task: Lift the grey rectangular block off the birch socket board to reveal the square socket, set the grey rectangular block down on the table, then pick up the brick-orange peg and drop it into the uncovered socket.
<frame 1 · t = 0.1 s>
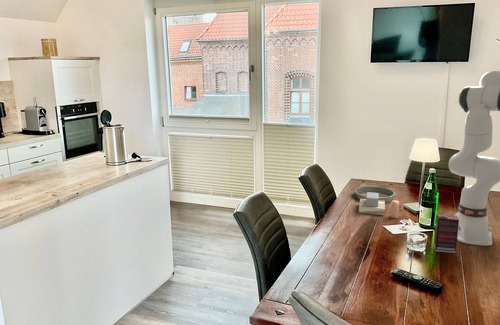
grey rectangular block: (372, 203, 226), point 4 cm above the table, touching socket board
socket board: (371, 210, 227), on the table
cake pan: (374, 198, 249), on the table
supplement box: (443, 250, 176), on the table
peg: (394, 216, 216), on the table
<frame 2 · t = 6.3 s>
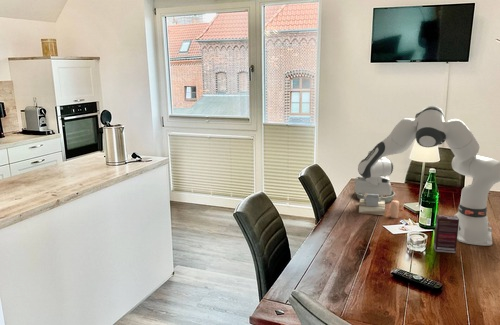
hand: (372, 200, 226), 6 cm above the table, tool pointing down, fingers closed on grey rectangular block, 6 cm apart
grey rectangular block: (372, 203, 227), point 4 cm above the table, touching gripper, socket board
everything else where it was.
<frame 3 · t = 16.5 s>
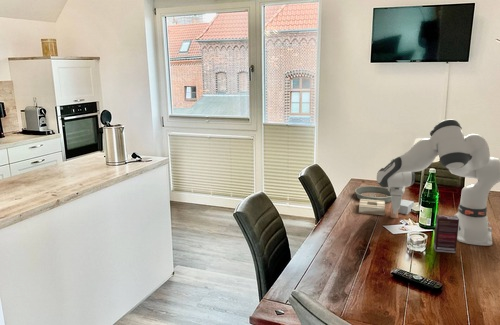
hand: (394, 211, 216), 3 cm above the table, tool pointing down, fingers closed on peg, 4 cm apart
grey rectangular block: (404, 211, 226), on the table
peg: (394, 216, 216), on the table, touching gripper
everything else where it was.
when the fingers open (6 cm above the table, at t = 22.7 s): peg drops 2 cm, resting on socket board.
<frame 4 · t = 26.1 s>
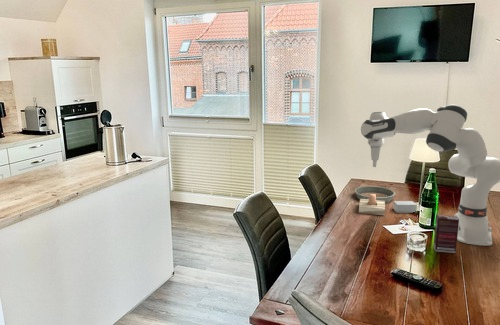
hand: (374, 164, 221), 27 cm above the table, tool pointing down, fingers open, 8 cm apart
peg: (371, 209, 227), resting on socket board
at the end: peg 0.0 cm off-centre on the socket board, point 0.3 cm above the socket board's base; peg tilted 1°; grey rectangular block touching table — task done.
